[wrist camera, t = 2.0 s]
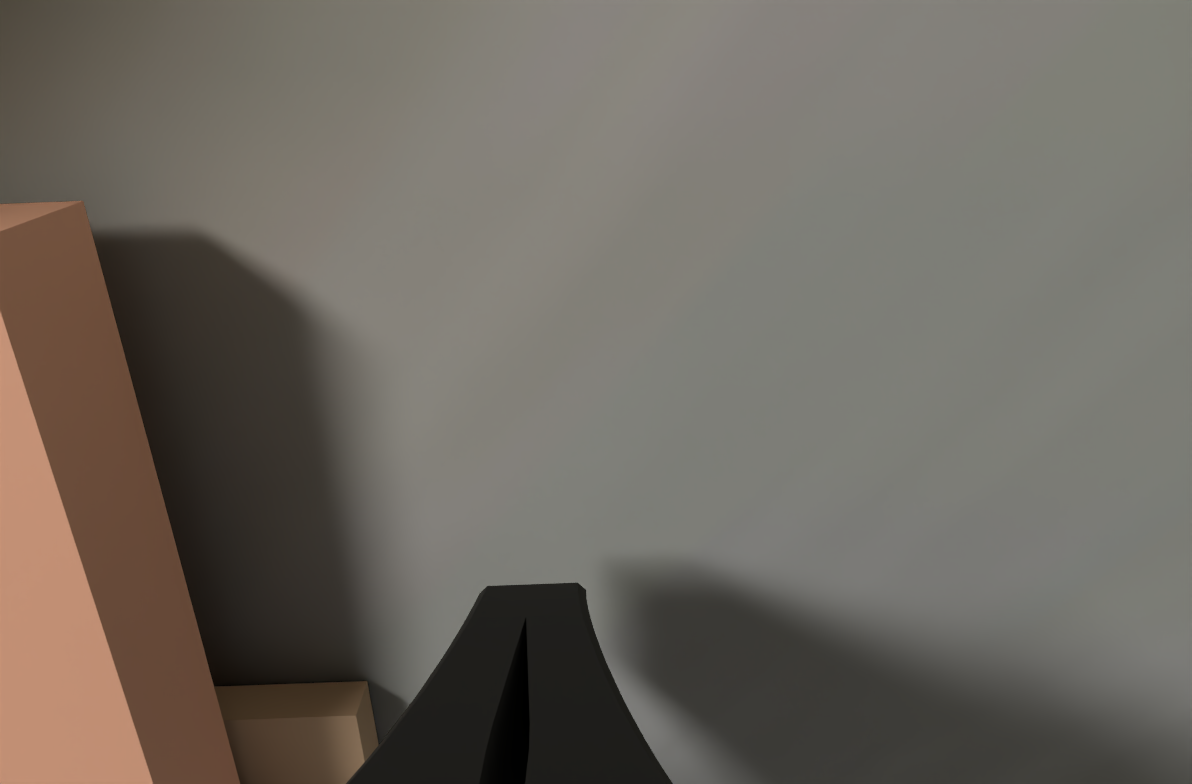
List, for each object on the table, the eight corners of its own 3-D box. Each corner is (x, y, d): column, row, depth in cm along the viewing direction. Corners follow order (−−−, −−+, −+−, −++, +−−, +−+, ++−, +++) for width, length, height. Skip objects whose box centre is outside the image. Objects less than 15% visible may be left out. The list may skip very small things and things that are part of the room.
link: (314, 958, 16) (254, 1168, 13) (99, 965, 16) (-9, 1178, 13) (124, 199, 11) (-54, 269, 8) (-205, 211, 11) (-511, 286, 8)
